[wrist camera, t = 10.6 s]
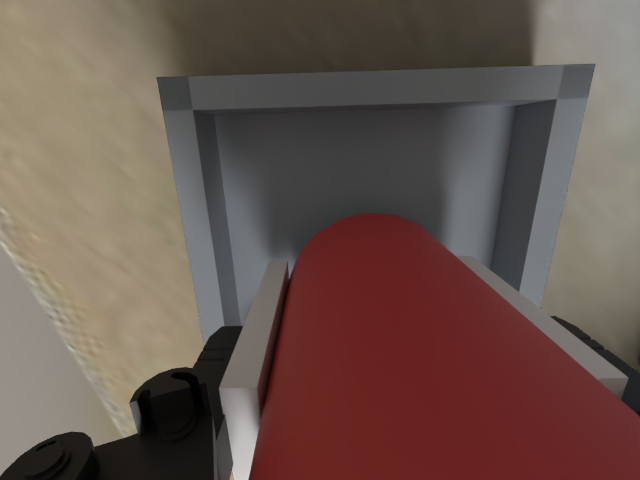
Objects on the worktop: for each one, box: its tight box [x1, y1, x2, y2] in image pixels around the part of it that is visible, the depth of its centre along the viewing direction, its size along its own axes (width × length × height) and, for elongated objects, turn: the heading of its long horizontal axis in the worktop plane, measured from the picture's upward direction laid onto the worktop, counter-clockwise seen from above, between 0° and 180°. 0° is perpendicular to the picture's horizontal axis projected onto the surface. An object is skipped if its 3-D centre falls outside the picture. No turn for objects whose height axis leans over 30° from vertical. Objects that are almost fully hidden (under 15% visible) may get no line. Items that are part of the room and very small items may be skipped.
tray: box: [157, 64, 595, 346], centre depth 14 cm, size 16×14×3 cm
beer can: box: [249, 213, 640, 480], centre depth 7 cm, size 7×7×12 cm
